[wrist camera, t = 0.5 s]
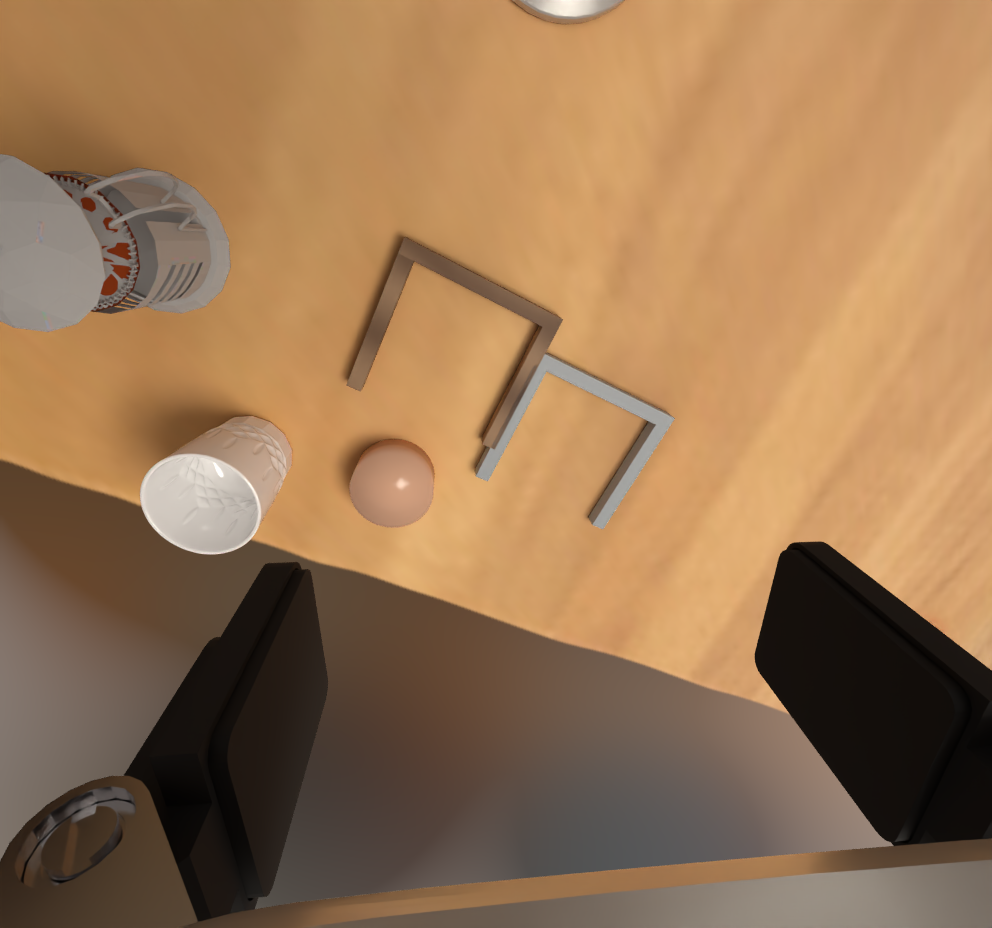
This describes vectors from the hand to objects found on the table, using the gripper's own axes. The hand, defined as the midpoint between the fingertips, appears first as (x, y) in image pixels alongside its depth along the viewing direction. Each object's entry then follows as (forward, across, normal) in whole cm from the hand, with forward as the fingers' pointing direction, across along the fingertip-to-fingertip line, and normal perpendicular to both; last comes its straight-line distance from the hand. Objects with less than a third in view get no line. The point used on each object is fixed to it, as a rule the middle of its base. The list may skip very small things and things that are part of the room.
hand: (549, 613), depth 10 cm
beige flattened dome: (+35, +7, +12) cm, 38 cm away
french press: (+35, +22, -8) cm, 42 cm away
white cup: (+35, +19, +9) cm, 41 cm away
